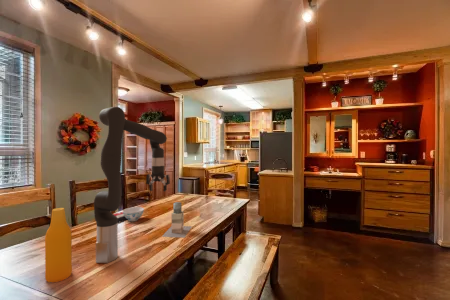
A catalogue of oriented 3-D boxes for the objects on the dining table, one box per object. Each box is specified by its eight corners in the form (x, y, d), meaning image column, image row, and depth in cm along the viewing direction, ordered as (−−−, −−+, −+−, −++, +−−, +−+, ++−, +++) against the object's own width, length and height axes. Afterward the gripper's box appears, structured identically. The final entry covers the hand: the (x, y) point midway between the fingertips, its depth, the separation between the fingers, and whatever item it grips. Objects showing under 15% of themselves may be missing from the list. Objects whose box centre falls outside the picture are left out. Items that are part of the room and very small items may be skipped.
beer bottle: (54, 285, 92) (54, 213, 91) (40, 280, 95) (39, 210, 95) (77, 273, 100) (76, 207, 100) (62, 269, 104) (62, 205, 103)
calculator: (132, 213, 179) (115, 217, 165) (132, 218, 179) (115, 223, 165) (122, 211, 183) (105, 215, 170) (121, 216, 183) (105, 221, 170)
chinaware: (119, 219, 173) (119, 209, 173) (139, 215, 183) (139, 206, 183) (126, 224, 162) (126, 213, 162) (147, 220, 172) (147, 210, 172)
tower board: (184, 240, 136) (184, 237, 136) (161, 239, 137) (161, 236, 137) (191, 228, 155) (191, 226, 155) (171, 227, 156) (171, 225, 156)
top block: (180, 223, 143) (180, 214, 143) (171, 223, 143) (171, 213, 143) (183, 220, 149) (183, 211, 149) (174, 220, 149) (174, 211, 149)
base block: (180, 233, 143) (180, 223, 143) (171, 232, 143) (171, 223, 143) (183, 229, 149) (183, 220, 149) (174, 229, 149) (174, 220, 149)
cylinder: (180, 213, 143) (180, 204, 143) (172, 213, 144) (172, 204, 144) (182, 211, 148) (182, 202, 148) (174, 211, 149) (174, 202, 149)
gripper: (144, 165, 138) (144, 192, 139) (167, 165, 137) (167, 192, 137) (149, 164, 146) (149, 189, 146) (171, 164, 144) (171, 190, 145)
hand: (158, 191), depth 142 cm, fingers open, 8 cm apart
